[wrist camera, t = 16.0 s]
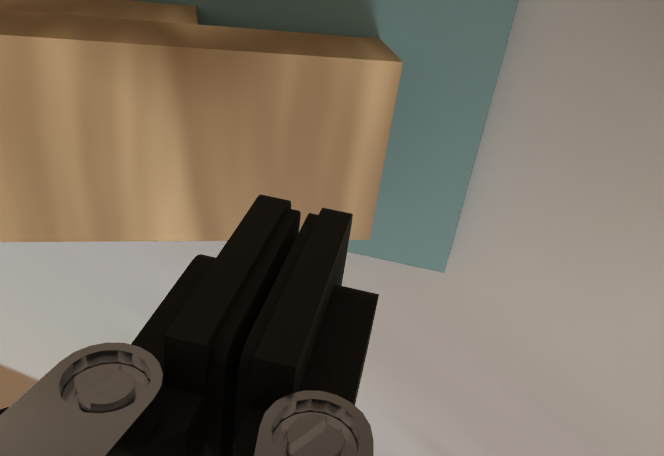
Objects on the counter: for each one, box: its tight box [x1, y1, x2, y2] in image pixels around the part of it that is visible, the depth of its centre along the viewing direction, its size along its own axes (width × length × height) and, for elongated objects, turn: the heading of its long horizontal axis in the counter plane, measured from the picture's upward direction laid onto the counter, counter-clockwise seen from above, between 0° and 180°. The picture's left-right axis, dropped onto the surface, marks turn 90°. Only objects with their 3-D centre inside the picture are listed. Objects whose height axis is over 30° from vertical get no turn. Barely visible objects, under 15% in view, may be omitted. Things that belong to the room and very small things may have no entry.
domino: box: [0, 9, 403, 242], centre depth 16 cm, size 2×5×10 cm
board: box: [132, 0, 518, 273], centre depth 19 cm, size 24×8×1 cm, turn 82°
